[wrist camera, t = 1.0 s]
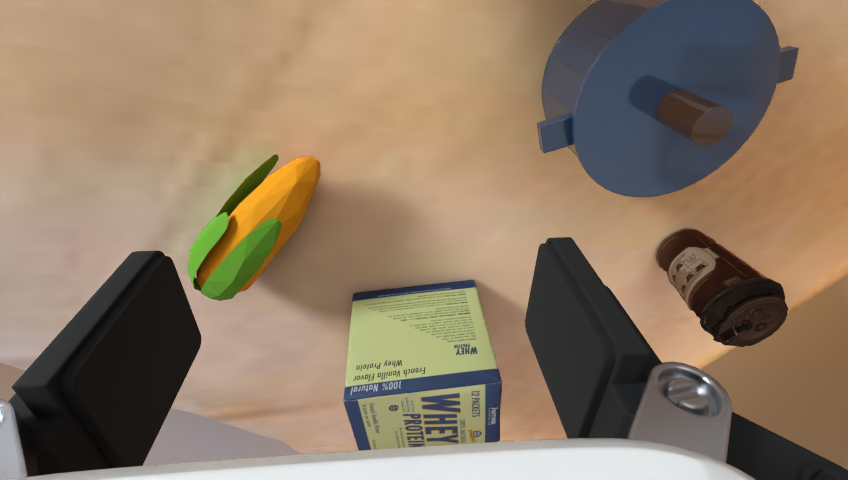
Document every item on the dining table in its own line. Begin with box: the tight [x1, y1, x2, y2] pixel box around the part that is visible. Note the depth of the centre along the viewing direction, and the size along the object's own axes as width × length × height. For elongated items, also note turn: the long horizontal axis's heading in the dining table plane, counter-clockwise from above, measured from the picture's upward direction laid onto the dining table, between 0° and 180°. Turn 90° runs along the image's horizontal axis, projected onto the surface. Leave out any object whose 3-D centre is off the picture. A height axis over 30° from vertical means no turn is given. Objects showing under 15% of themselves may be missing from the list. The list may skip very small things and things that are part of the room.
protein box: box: [344, 280, 502, 451], centre depth 49 cm, size 10×16×16 cm
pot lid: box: [572, 0, 780, 197], centre depth 31 cm, size 16×16×6 cm
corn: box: [188, 155, 321, 301], centre depth 42 cm, size 7×8×20 cm
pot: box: [537, 0, 799, 156], centre depth 37 cm, size 15×20×9 cm
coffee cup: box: [656, 229, 788, 347], centre depth 48 cm, size 9×8×13 cm
